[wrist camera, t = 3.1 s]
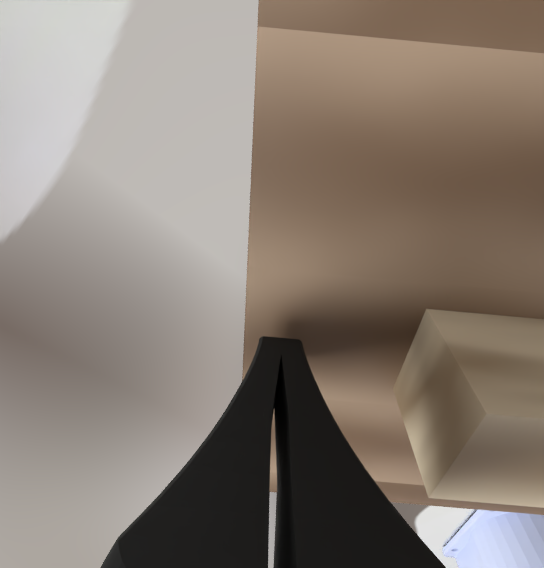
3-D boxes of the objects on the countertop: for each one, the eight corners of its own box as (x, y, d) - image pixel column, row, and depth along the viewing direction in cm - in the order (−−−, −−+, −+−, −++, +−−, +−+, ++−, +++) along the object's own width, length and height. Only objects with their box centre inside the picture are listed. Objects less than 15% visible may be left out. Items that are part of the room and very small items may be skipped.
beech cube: (492, 397, 13) (562, 509, 10) (392, 388, 13) (428, 498, 10) (545, 319, 11) (658, 428, 8) (426, 308, 11) (486, 414, 8)
